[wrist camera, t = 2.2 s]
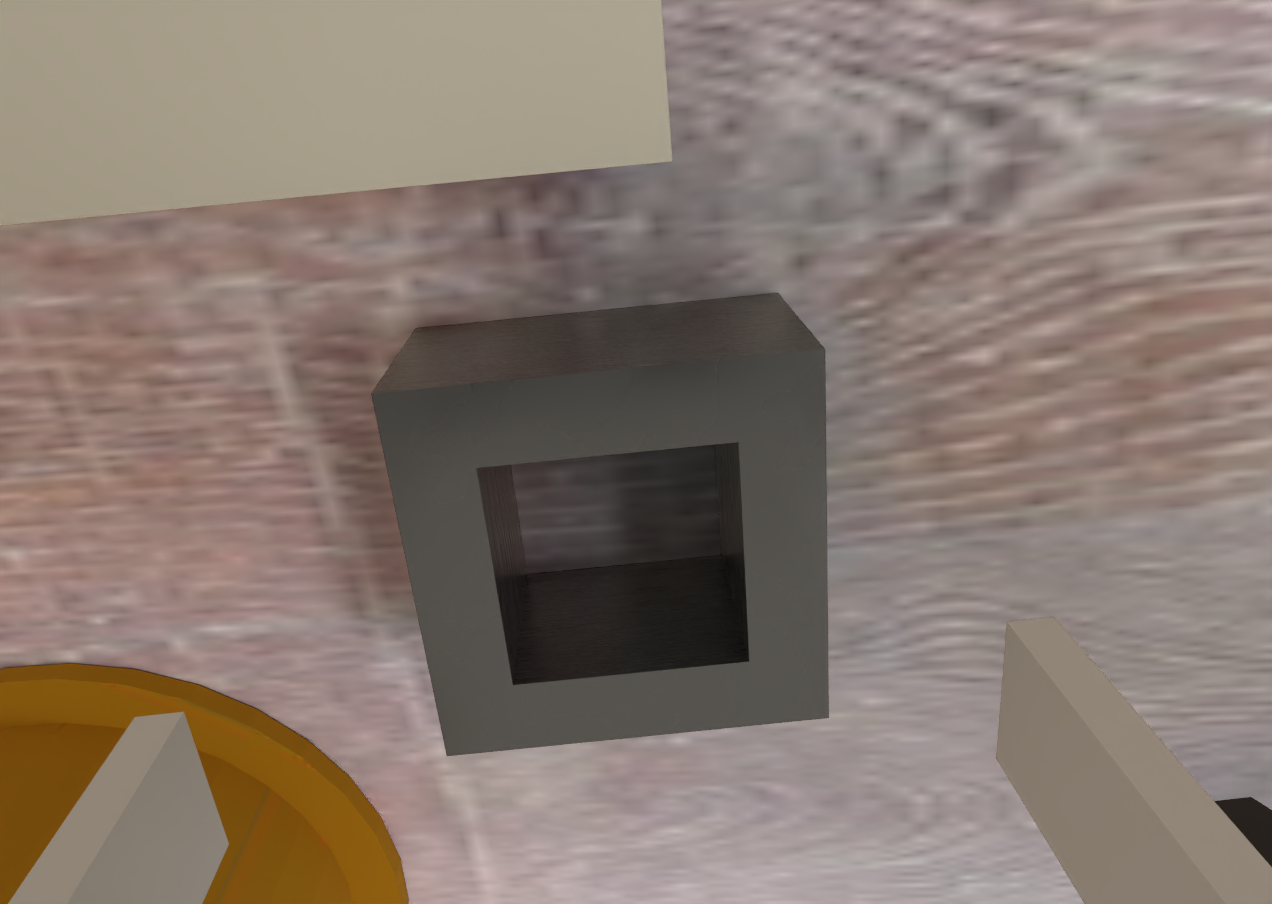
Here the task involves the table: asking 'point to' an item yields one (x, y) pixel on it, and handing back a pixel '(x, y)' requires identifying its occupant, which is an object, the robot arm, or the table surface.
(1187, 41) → the table surface
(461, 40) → the keeper board
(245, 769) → the spool
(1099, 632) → the table surface
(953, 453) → the table surface
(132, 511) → the table surface
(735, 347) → the steel link
